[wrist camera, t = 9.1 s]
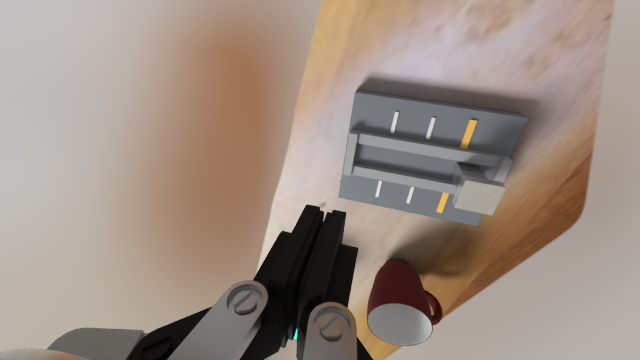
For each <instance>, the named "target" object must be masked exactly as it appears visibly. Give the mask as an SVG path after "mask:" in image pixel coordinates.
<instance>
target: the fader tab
mask: <svg viewBox="0 0 640 360" xmlns="http://www.w3.org/2000/svg"><path fill="white" fill-rule="evenodd" d="M451 179H452V181H453V183H454V185H455V188H456V193H455V195H454V198H453V201H452V203H453V206H454V208H458V209H463V210H468V211H473V212H478V213H483V214H488V215H493V213H494V211H495V209H496V207H497V205H498V203H499V201H500V199H501V197H502V195H503V193H504V191H505V189H506V187H505V186H504V184H503V183H502V182H499V181H494V180H489V179H487V177H486V176H485V175H484V173H483V172H482V170H481V169H480V167H478V166H472V165H466V164H461V163H457V164H456V167H455V170H454V172H453V175H452V178H451Z"/></svg>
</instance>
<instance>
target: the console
mask: <svg viewBox="0 0 640 360" xmlns="http://www.w3.org/2000/svg"><path fill="white" fill-rule="evenodd" d="M527 120H528V118H527V117H526V116H524V115H522V114H520V113H513V112H506V111H499V110H493V109H486V108H479V107H472V106H465V105H458V104H451V103H445V102H438V101H431V100H424V99H417V98H410V97H403V96H397V95H390V94H383V93H376V92H369V91H362V90H356V92H355V96H354V102H353V108H352V115H351V121H350V127H349V134H348V140H347V146H346V153H345V159H344V165H343V172H342V178H341V184H340V191H339V198H344V199H349V200H354V201H358V202H363V203H368V204H373V205H377V206H382V207H387V208H392V209H397V210H401V211H406V212H411V213H416V214H421V215H425V216H430V217H435V218H440V219H444V220H449V221H454V222H459V223H464V224H468V225H473V226H478V224H479V222H480V219H481V217H482V215H483V213H478V212H473V211H468V210H463V209H458V208H454V206H453V203H452V201H453V198H454V195H455V193H456V188H455V185H454V183H453V181H452V179H451V178H452V175H453V172H454V170H455V167H456V164H457V163H461V164H466V165H472V166H478V167H480V169H481V170H482V172H483V173H484V175H485V176H486V177H487V179H489V180H494V181H499V182H502V183H503V182H504V180H505V178H506V176H507V174H508V172H509V170H510V168H511V166H512V164H513V162H514V161H513V160H512V159H511V158H510V156H511V154H512V152H513V150H514V147H515V145H516V143H517V141H518V139H519V137H520V135H521V133H522V131H523V128H524V126H525V124H526V122H527Z"/></svg>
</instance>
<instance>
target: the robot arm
mask: <svg viewBox="0 0 640 360" xmlns="http://www.w3.org/2000/svg"><path fill="white" fill-rule="evenodd" d="M345 218H346V212H342V211H337V210H333V211H332V213H329V212H327V214H326V217H325V220H324V222H323V219H324V211H320V207H317V206H312V205H306V206H305V208H304V210H303V212H302V214H301V216H300V218H299V220H298V222H297V224H296V226H295V227H294V229H293V231H292V233H289V232H285V231H282V232H281V233H280V234H279V236H278V238H277V239H276V241H275V243H274V244H273V246H272V248H271V250H270V251H269V253H268V255H267V257H266V258H265V260H264V262H263V264H262V265H261V267H260V269H259V271H258V272H257V274H256V276H255V278H254V279H253V281H252V280H249V281H241V282H238V283H236V284H234V285H232V286H231V287H230V288H229V289H228V290H227V291H226V292H225V293H224V294H223V295H222V296H221V298H220V299H219V300H218V301H217V302H216V303H215V304H214V306H212V307H210V308H207V309H205V310H203V311H200V312H198V313H195V314H193V315H190V316H188V317H185V318H183V319H180V320H178V321H175V322H173V323H171V324H168V325H166V326H163V327H161V328H158V329H156V330H154V331H152V332H150V333H144V332H143V330H127V329H103V328H80V329H75V330H72V331H70V332H68V333H66V334H64V335H63V336H61V337H59V338H58V339H57V340H55V341H54V342H53V343H52V344H51V345H50V346H49V347H48V348H47V349H16V350H9V351H2V352H0V360H269V358H270V356H271V355H273V354H275V353H276V352H278V351H279V349H280V347H283V348H285V346H286V343H287V341H288V339H291V340H293V339H294V336H295V333H296V330H297V355H296V357H297V359H298V360H373V359H372V357H371V356H370V355H369V353H368V352H367V350H366V349H365V347H364V346H363V345H362V343H361V342H360V340H359V339H358V337H357V329H356V321H355V318H354V316H353V314H352V313H351V312H350V310H349V309H348V302H349V296H350V291H351V285H352V280H353V274H354V269H355V263H356V258H357V252H358V248H356V247H351V246H347V245H343V244H342V239H343V232H344V225H345Z"/></svg>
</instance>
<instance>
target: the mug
mask: <svg viewBox="0 0 640 360" xmlns="http://www.w3.org/2000/svg"><path fill="white" fill-rule="evenodd" d="M429 304H430V305H431V307H432V309H433V312H434V315H431V310H430V306H429ZM441 319H442V308H441V305H440V303H439V302H438V300H437V299H436V298H435V297H434V296H433V295H432V294H431V293H429V292H428V291H426V290H424V288H423V286H422V283H421V280H420V278H419V276H418V274H417V273H416V272H415V270H414V269H413V268H412V267H411V266H410V265H409V264H408V263H407V262H405V261H404V260H401V259H392V260H389V261H387V262H386V263H385V264H384V265H383V266H382V267H381V268H380V270H379V271H378V273H377V275H376V277H375V280H374V284H373V287H372V290H371V294H370V297H369V301H368V309H367V324H368V327H369V329H370V330H371V332H372V333H373V334H374V335H375V336H377V337H378V338H379V339H381V340H383V341H385V342H388V343H390V344H394V345H400V346H412V345H417V344H420V343H422V342H424V341H425V340H427V339H428V338H429V337H430V335H431V333H432V330H433V325H436V324H437V323H439V322H440V320H441Z"/></svg>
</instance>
